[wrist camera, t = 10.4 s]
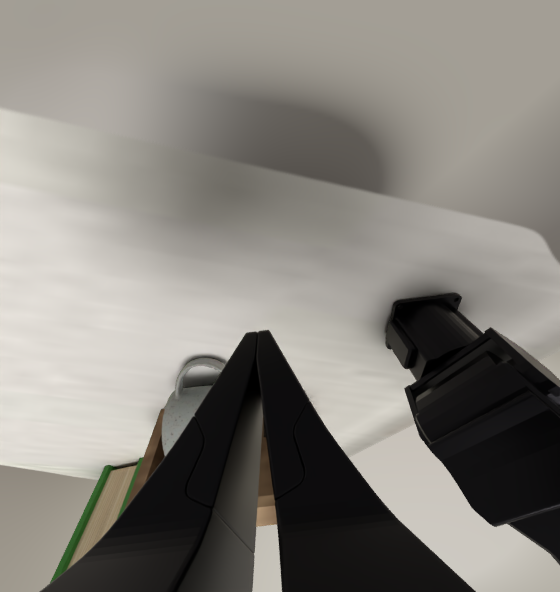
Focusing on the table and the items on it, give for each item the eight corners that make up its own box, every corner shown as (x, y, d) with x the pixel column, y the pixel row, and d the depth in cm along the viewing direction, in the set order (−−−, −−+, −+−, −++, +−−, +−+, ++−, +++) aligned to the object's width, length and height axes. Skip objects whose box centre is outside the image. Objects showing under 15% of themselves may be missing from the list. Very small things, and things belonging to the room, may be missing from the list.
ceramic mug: (254, 403, 32) (252, 469, 26) (194, 411, 32) (177, 479, 26) (236, 348, 26) (227, 416, 20) (163, 358, 26) (131, 429, 20)
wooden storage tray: (295, 392, 31) (310, 501, 22) (299, 416, 35) (312, 519, 25) (161, 409, 31) (119, 524, 22) (178, 432, 35) (147, 539, 26)
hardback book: (105, 465, 39) (-52, 798, 20) (144, 457, 39) (21, 795, 19) (164, 497, 49) (99, 741, 29) (197, 491, 48) (152, 738, 29)
